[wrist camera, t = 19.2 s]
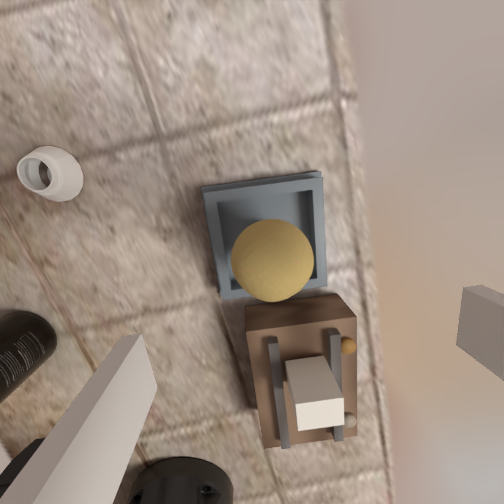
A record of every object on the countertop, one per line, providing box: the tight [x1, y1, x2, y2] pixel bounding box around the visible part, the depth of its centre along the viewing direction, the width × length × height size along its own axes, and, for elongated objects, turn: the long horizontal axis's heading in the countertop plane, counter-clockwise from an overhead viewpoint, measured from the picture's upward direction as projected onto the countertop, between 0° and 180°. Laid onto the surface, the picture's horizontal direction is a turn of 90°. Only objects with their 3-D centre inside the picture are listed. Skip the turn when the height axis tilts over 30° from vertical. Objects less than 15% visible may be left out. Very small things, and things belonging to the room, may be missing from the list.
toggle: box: [285, 356, 344, 431], centre depth 23 cm, size 4×3×5 cm
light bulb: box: [231, 219, 314, 302], centre depth 21 cm, size 6×6×10 cm
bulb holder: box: [201, 171, 327, 300], centre depth 25 cm, size 12×12×3 cm
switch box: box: [245, 294, 357, 449], centre depth 28 cm, size 11×16×6 cm
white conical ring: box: [17, 146, 83, 202], centre depth 23 cm, size 5×3×5 cm
